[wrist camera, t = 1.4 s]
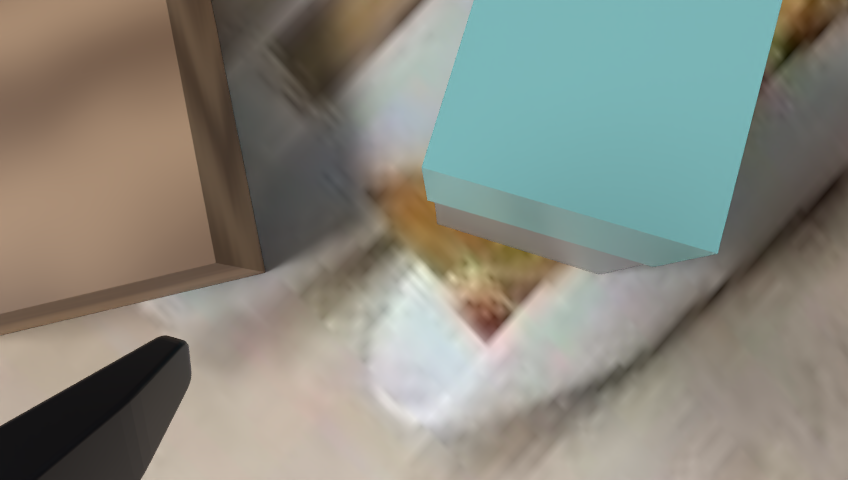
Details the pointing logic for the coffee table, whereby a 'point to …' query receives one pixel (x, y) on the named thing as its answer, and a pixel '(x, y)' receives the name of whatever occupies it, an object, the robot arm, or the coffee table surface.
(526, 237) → the storage box
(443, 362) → the coffee table surface
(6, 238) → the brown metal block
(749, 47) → the lid
